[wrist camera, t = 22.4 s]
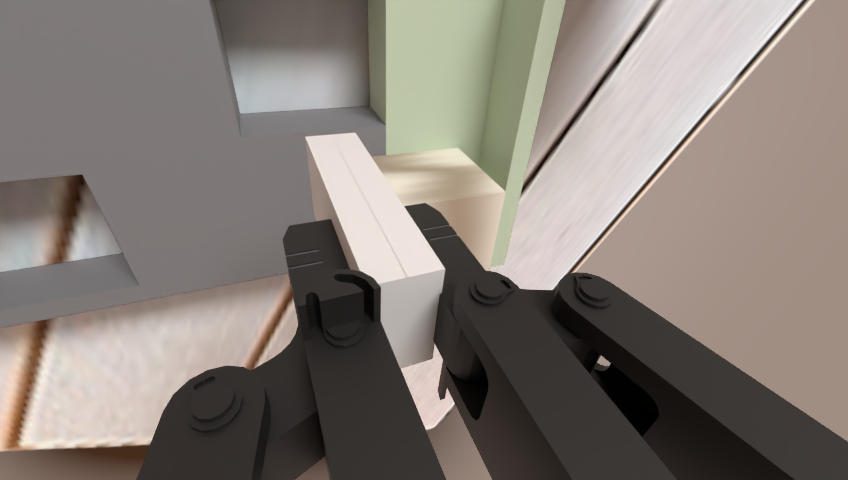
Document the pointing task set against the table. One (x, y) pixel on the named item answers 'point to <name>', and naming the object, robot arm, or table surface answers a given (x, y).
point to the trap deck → (238, 131)
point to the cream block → (450, 193)
